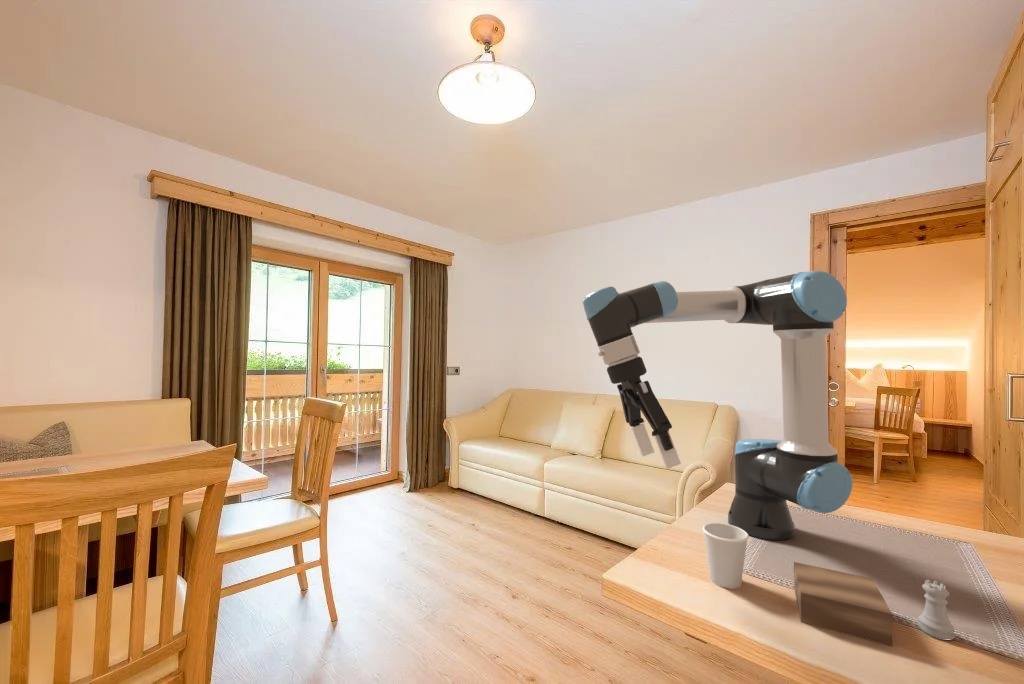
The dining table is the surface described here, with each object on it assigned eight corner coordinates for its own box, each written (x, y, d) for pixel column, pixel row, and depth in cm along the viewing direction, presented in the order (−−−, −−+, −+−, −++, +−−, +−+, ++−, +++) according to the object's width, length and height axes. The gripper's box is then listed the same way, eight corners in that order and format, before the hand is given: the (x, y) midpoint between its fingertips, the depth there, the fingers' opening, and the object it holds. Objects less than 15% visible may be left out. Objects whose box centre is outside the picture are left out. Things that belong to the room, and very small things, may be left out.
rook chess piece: (963, 643, 67) (963, 593, 67) (930, 639, 68) (930, 589, 68) (941, 625, 71) (940, 578, 72) (910, 622, 72) (910, 575, 73)
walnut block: (793, 587, 83) (793, 561, 83) (872, 606, 77) (872, 578, 77) (800, 621, 72) (800, 592, 72) (892, 646, 66) (892, 614, 66)
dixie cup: (694, 579, 86) (695, 529, 86) (713, 565, 91) (713, 519, 91) (738, 597, 79) (738, 544, 79) (755, 582, 84) (755, 532, 85)
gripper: (593, 369, 99) (624, 455, 98) (623, 363, 75) (666, 479, 73) (622, 358, 100) (654, 444, 98) (662, 349, 75) (706, 464, 73)
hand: (659, 459), depth 85 cm, fingers open, 13 cm apart
